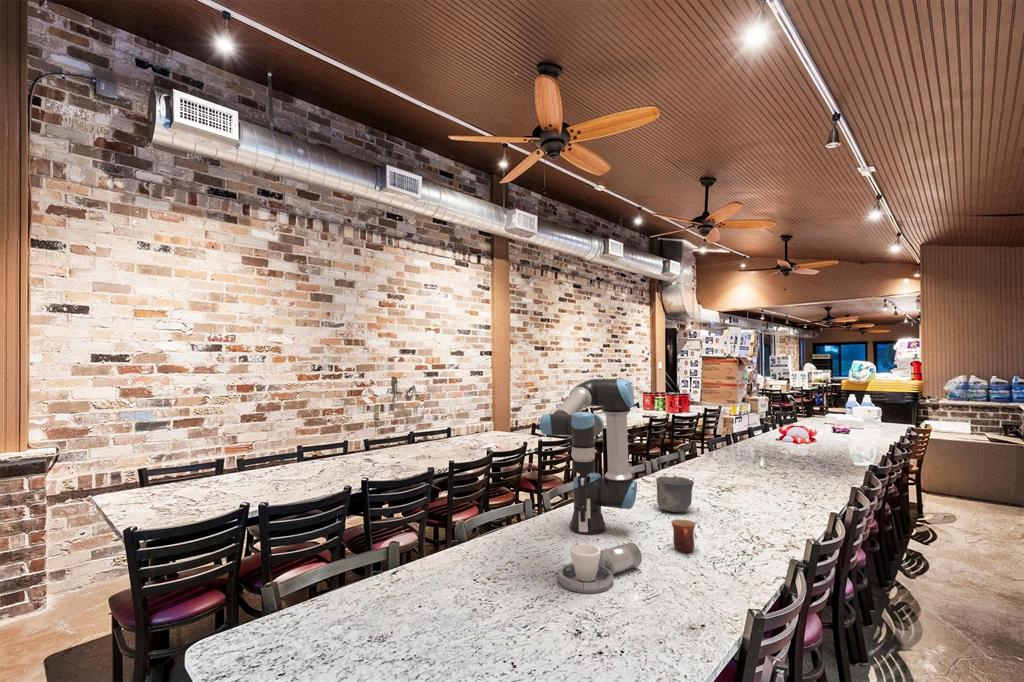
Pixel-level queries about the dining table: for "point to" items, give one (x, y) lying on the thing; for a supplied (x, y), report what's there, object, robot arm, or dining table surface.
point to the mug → (683, 535)
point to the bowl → (674, 493)
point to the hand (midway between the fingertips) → (584, 524)
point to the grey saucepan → (602, 569)
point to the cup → (585, 561)
